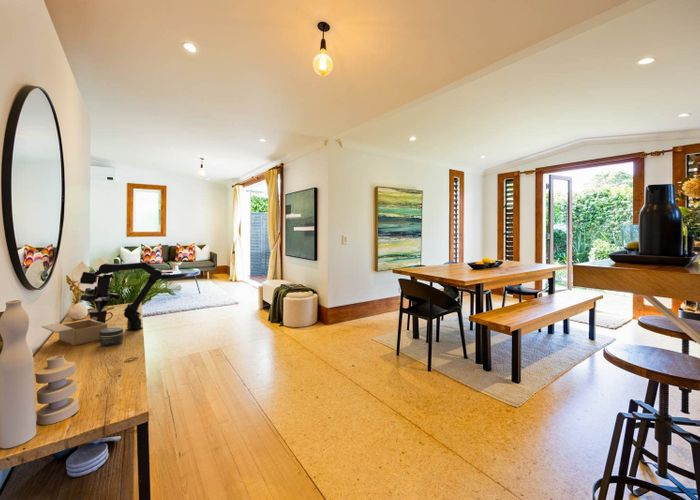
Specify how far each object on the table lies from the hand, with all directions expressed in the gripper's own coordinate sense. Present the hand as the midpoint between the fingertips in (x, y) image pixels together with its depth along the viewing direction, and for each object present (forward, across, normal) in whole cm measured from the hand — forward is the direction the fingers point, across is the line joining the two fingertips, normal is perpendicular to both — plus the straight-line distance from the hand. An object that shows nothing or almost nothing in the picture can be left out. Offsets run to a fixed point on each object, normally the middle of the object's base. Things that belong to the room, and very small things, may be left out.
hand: (99, 312), depth 179 cm
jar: (+12, +9, +24) cm, 29 cm away
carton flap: (+6, +16, +1) cm, 17 cm away
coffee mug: (+12, -11, -11) cm, 20 cm away
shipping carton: (+13, +9, +3) cm, 16 cm away
